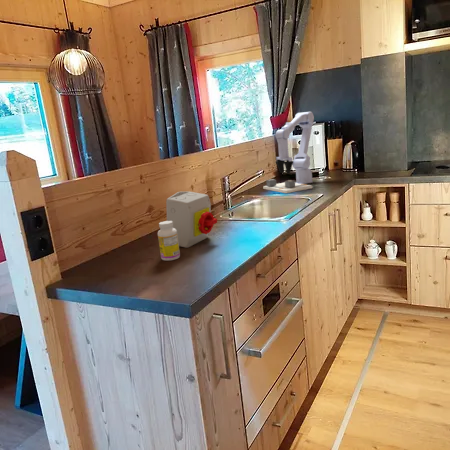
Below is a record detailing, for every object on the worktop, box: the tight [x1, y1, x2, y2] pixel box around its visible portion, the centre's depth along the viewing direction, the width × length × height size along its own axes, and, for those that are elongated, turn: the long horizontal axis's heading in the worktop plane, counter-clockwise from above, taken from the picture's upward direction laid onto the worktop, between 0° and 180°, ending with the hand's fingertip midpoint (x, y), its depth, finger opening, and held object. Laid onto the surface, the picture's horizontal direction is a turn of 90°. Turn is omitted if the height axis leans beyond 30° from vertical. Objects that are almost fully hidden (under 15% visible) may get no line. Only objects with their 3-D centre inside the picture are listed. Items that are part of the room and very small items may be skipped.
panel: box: [262, 181, 313, 194], centre depth 260 cm, size 18×26×2 cm
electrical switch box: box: [165, 190, 218, 249], centre depth 163 cm, size 15×15×20 cm
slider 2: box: [284, 179, 296, 188], centre depth 252 cm, size 4×4×4 cm
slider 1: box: [265, 178, 277, 187], centre depth 264 cm, size 4×4×4 cm
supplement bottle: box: [157, 220, 181, 262], centre depth 148 cm, size 7×7×13 cm
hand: (285, 172), depth 258 cm, fingers open, 7 cm apart
